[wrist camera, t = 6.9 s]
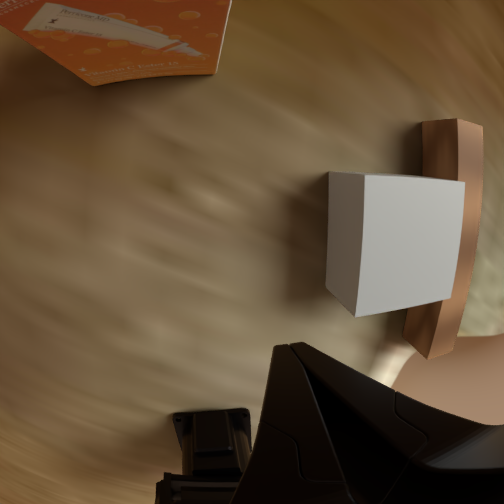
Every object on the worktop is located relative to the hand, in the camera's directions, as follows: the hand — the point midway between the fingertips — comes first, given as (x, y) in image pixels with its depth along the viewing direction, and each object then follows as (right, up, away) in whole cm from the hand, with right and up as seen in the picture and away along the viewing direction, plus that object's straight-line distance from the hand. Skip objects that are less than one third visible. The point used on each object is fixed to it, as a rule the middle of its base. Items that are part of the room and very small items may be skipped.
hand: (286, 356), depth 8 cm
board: (+14, +4, +14) cm, 20 cm away
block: (+8, +5, +13) cm, 16 cm away
